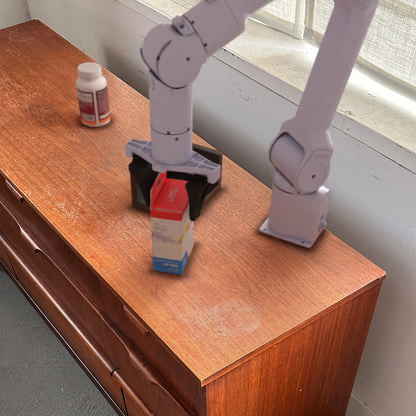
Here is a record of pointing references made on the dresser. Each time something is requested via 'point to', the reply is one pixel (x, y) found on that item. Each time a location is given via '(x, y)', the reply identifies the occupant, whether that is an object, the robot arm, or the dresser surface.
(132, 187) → the box
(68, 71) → the dresser surface
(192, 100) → the robot arm
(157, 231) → the ink box
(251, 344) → the dresser surface
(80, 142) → the dresser surface
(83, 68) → the pill bottle
